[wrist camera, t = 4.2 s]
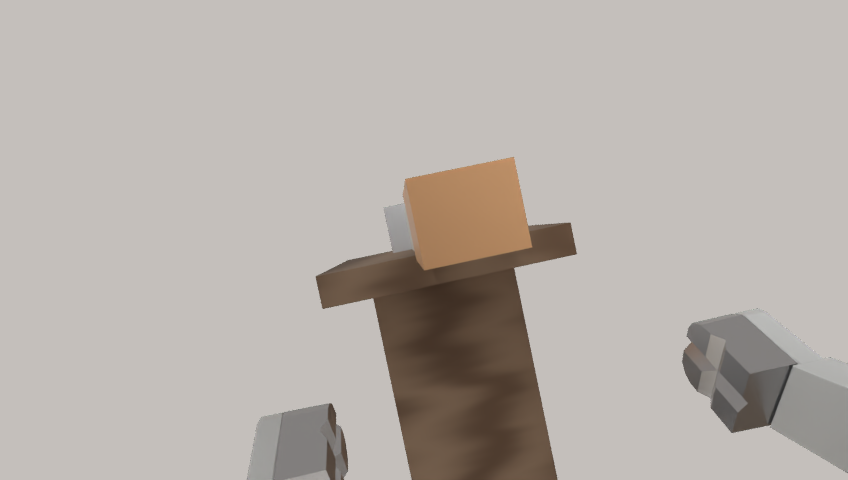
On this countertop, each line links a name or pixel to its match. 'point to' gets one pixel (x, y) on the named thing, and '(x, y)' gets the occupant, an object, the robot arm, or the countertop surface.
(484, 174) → the grey tan flat bar
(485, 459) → the stand
